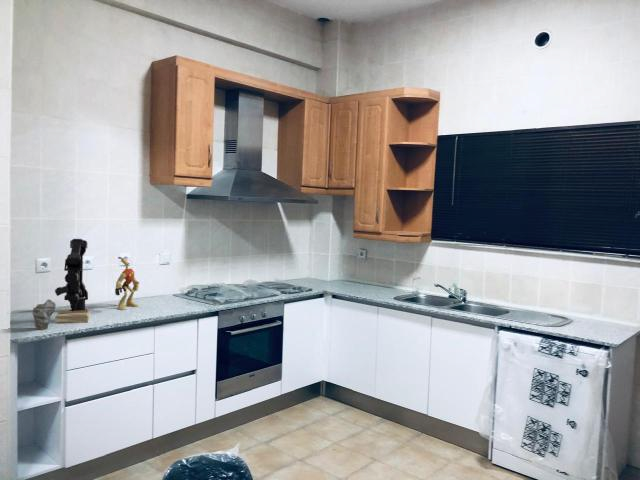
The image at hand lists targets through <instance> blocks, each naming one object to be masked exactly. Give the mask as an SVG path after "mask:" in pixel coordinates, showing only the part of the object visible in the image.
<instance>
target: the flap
mask: <svg viewBox="0 0 640 480" xmlns="http://www.w3.org/2000/svg"><path fill="white" fill-rule="evenodd" d="M58 312H90V311H89V310H88V309H87V310H79V311H70V310H58V311H57V313H58Z"/></svg>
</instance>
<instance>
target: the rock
mask: <svg viewBox="0 0 640 480" xmlns="http://www.w3.org/2000/svg"><path fill="white" fill-rule="evenodd" d="M56 305H57V304H56V302H55V301H54V302H53V300H52V299H47V300H46V301H45V302H44V303H39V304H37V305H36V307H33V309H32V316H33V320H34V327H35V329H36V330H45V329H48V327H49V324H50V319H51V316H52V315H53V314H54V312H55V309H56Z"/></svg>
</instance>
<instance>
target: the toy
mask: <svg viewBox="0 0 640 480" xmlns="http://www.w3.org/2000/svg"><path fill="white" fill-rule="evenodd" d="M119 259H120V262H121V263H122V264H123V265H124V266H125V269H124V270H123V271H122V272H121V274H120V276H119V277H118V278H117V281H116V283H115V289H114V290H115V291H114V293H115V296H120V294H122V292H124V295H123V296H122V298H121V299H120V300H119V302H118V305H117V308H118V310H120V311H122V310H123V311H124V310H127V307H134V308H135V307H140V305H139V304H137V303H135V302H134V301H133V298H134V295H135V292H137V291H139V287H140V282H139V281H138V280H137V279H136V277H135V275H136V272H135V271H134V269H133V268H129V265H130V263H129V262H128V260H127V259H126V257H121V256H118V260H119ZM122 282H123V284H122ZM130 284H132V285H133V287H131V286H130ZM128 291H129V292H130V294H129V295H128ZM127 296H128V297H127ZM125 302H126V303H125Z"/></svg>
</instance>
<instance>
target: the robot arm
mask: <svg viewBox="0 0 640 480" xmlns="http://www.w3.org/2000/svg"><path fill="white" fill-rule="evenodd" d="M69 248H70V249H71V250H70V253H69V254H68V255H67V256H66V258H65V260H64V269H63V270H64V272H67V273H66V274H65V276H64V281H65V282H66V284H65V286H62V287H61V286H59V287H56V288H55V289H54V294H56V297H57V296H58V297H59V296H60V295H63V294H64V298H63V300H64V301H68V302H69V305H70V309H69V311H79V310H88V309H87V308H86V301H87V300H89V292H88V290H87V289H86V285H85V283H84V282H83V275H84V274H83V273H84V271H83V269H84V265H83V264H84V255H85V253H86V251H87V249H88V241H87V240H84V239H82V238H72V240H70V241H69Z"/></svg>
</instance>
